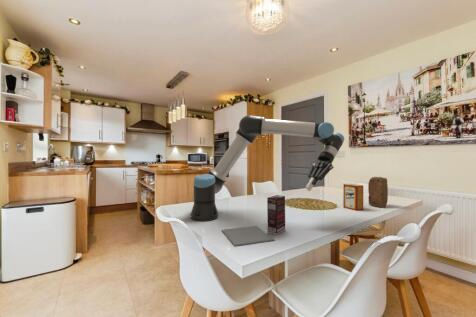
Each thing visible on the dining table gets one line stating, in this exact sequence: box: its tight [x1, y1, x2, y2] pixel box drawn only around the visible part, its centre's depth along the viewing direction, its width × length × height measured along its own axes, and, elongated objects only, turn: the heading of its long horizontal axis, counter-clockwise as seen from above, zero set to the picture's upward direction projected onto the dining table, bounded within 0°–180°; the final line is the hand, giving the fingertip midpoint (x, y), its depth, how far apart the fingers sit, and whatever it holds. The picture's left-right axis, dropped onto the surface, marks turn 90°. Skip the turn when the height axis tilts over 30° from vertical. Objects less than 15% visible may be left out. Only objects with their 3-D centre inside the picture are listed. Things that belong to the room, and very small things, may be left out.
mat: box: [221, 225, 276, 247], centre depth 93 cm, size 18×17×1 cm
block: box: [367, 176, 389, 208], centre depth 150 cm, size 11×8×20 cm
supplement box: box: [266, 194, 286, 236], centre depth 98 cm, size 9×5×16 cm, turn 141°
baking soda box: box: [342, 183, 364, 212], centre depth 142 cm, size 10×6×16 cm
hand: (308, 189), depth 108 cm, fingers closed
